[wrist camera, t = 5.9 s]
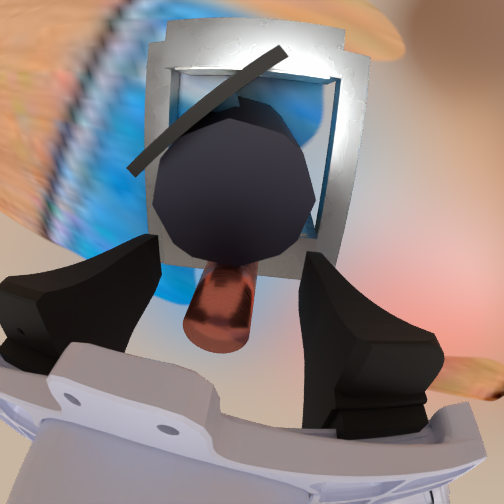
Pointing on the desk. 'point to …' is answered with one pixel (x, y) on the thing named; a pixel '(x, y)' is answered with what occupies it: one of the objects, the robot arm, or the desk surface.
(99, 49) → the desk surface
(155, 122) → the vise body
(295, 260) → the jaw slide
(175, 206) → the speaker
